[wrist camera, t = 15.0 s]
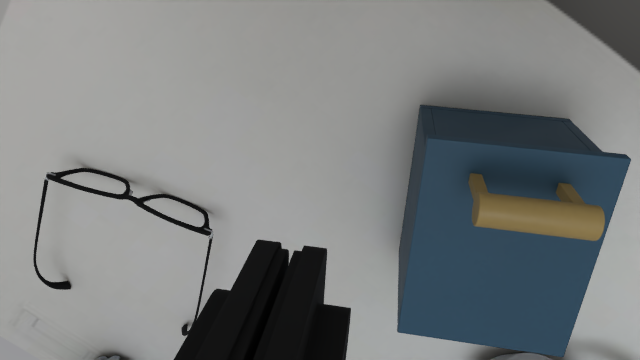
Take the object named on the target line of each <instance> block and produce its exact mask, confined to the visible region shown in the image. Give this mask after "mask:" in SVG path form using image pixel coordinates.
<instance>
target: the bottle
mask: <svg viewBox="0 0 640 360" xmlns="http://www.w3.org/2000/svg"><path fill="white" fill-rule="evenodd" d="M120 359H121V358H120V357H119V356H112V357H110V358H107V357H105V356H102V357H99V358H97V359H95V360H120Z"/></svg>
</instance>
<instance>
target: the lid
mask: <svg viewBox="0 0 640 360" xmlns="http://www.w3.org/2000/svg"><path fill="white" fill-rule="evenodd" d="M630 161H631V159H630V158H629V157H628V156H627V155H625V154H616V153H607V152H597V151H587V150H577V149H568V148H558V147H548V146H538V145H529V144H519V143H509V142H499V141H490V140H480V139H470V138H460V137H451V136H441V135H431V134H427V137H426V144H425V150H424V157H423V163H422V170H421V176H420V183H419V189H418V196H417V202H416V209H415V215H414V222H413V228H412V235H411V241H410V247H409V254H408V260H407V267H406V273H405V280H404V286H403V293H402V299H401V306H400V312H399V319H398V328H397V331H398V332H399V333H406V334H413V335H419V336H426V337H433V338H439V339H446V340H452V341H459V342H466V343H472V344H479V345H486V346H492V347H499V348H506V349H512V350H519V351H526V352H532V353H539V354H545V355H552V356H559V357H564V354H565V351H566V348H567V345H568V342H569V339H570V336H571V333H572V330H573V327H574V324H575V322H576V319H577V316H578V313H579V310H580V307H581V304H582V301H583V298H584V295H585V292H586V290H587V287H588V284H589V281H590V278H591V275H592V272H593V269H594V266H595V263H596V260H597V257H598V255H599V252H600V249H601V246H602V243H603V240H604V237H605V234H606V231H607V228H608V225H609V222H610V220H611V217H612V214H613V211H614V208H615V205H616V202H617V199H618V196H619V193H620V190H621V187H622V185H623V182H624V179H625V176H626V173H627V170H628V167H629V164H630Z"/></svg>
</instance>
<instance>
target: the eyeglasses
mask: <svg viewBox="0 0 640 360" xmlns="http://www.w3.org/2000/svg"><path fill="white" fill-rule="evenodd" d="M79 172H90V173H95V174H100V175H104V176H107V177H110V178H114V179H116V180H119V181H121V182H123V183H125V185H126V191H125V192H124V193H123V194H113V193H108V192H103V191H99V190H95V189H92V188H88V187H84V186H81V185H78V184H75V183H72V182H69V181H66V180H63V179H61V177H63V176H66V175H69V174H73V173H79ZM48 180H52V181H55V182H58V183H60V184H63V185H66V186H70V187H73V188H76V189H79V190H82V191H86V192H90V193H94V194H98V195H102V196H106V197H111V198H116V199H128V200H131V201H133V202H134V203H135V204H136V205H137V206H139V207H141V208H142V209H144V210H146V211H148V212H150V213H152V214H154V215H156V216H158V217H160V218H162V219H164V220H167V221H169V222H171V223H174V224H176V225H179V226H181V227H184V228H186V229H189V230H192V231H195V232H197V233H201V234H204V235H207V236H209V235H211V236H209V237H208V238H210V240H209V246H208V251H207V257H206V263H205V269H204V274H203V280H202V285H201V290H200V296H199V301H198V307H197V311H196V315H195V319H194V322H193V324H192V327H193V325H194V324H195V322H196V319H197V316H198V311H199V306H200V302H201V297H202V291H203V286H204V281H205V275H206V270H207V265H208V259H209V254H210V249H211V243H212V238H213V231H212V229H210V228H209V219H208V214H207V212H206V211H204V210H203V209H201V208H199V207H198V206H196V205H193V204H191V203H189V202H187V201H184V200H182V199H179V198H177V197H174V196H170V195H166V194H156V195H150V196H145V197H141V198H139V199H138V198H136V197H133V196H130V195H132V193H133V191H132V190H130V185H129V182H128V181H127V180H125V179H123V178H120V177H118V176H115V175H112V174H109V173H105V172H102V171H97V170H93V169H87V168H79V169H73V170H68V171H63V172H58V173H53V172H51V173H49V172H47V174H46V177H45V181H44V187H43V193H42V199H41V206H40V212H39V219H38V225H37V232H36V239H35V247H34V267H35V271H36V273H37V275H38V277H39V278H40V280H41V281H42V282H44V283H45V284H46V285H47V286H49V287H51V288H54V289H71V286H70V283H69V282H68V281H64V282H49V281H47V280H45V279H44V278H43V277H42V276H41V275H40V273H39V271H38V268H37V265H36V250H37V242H38V236H39V230H40V224H41V219H42V213H43V208H44V202H45V197H46V191H47V185H48ZM156 198H169V199H172V200H175V201H178V202H181V203H183V204H185V205H188V206H190V207H192V208H194V209H196V210H198V211H199V212H201V213H202V214H203V215H204V219H205V223H204V225H203V226H202V227H195V226H192V225H189V224H186V223H184V222H181V221H178V220H176V219H173V218H171V217H168V216H166V215H164V214H162V213H160V212H158V211H156V210H154V209H152V208H150V207H148V206H147V205H145V204H143V203H144V202H148V201H150V200H151V199H156ZM187 326H188V325H187V324H186V325H184V326H183V327H182V335H184V336H186V335H188V334H189V332H190V331H191V329H192V327H191V328H190V330H189V331H187Z"/></svg>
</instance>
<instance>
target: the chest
mask: <svg viewBox="0 0 640 360" xmlns="http://www.w3.org/2000/svg"><path fill="white" fill-rule="evenodd" d="M427 134H431V135H441V136H451V137H460V138H470V139H480V140H490V141H499V142H509V143H519V144H529V145H538V146H548V147H558V148H568V149H577V150H587V151H597V152H602V151H601V150H600V149H599V148H598V147H597V146H596V145H595V144H594V143H593V142H592V141H591V140H590V139H589V138H588V137H587V136H586V135H585V134H584V133H583V132H582V131H581V130H580V129H579V128H578V127H577V126H576V125H575V124H573V123H572V121H571V120H570V119H562V118H552V117H542V116H531V115H521V114H510V113H500V112H489V111H479V110H468V109H458V108H448V107H437V106H427V105H420V109H419V116H418V123H417V130H416V137H415V144H414V151H413V158H412V165H411V172H410V179H409V185H408V192H407V199H406V206H405V213H404V220H403V227H402V234H401V241H400V248H399V275H398V319H399V312H400V306H401V299H402V293H403V286H404V280H405V273H406V267H407V260H408V254H409V247H410V241H411V235H412V228H413V222H414V215H415V209H416V202H417V196H418V189H419V183H420V176H421V170H422V163H423V157H424V150H425V144H426V137H427Z"/></svg>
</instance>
